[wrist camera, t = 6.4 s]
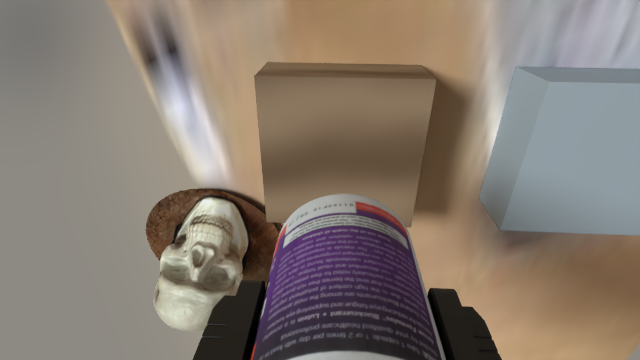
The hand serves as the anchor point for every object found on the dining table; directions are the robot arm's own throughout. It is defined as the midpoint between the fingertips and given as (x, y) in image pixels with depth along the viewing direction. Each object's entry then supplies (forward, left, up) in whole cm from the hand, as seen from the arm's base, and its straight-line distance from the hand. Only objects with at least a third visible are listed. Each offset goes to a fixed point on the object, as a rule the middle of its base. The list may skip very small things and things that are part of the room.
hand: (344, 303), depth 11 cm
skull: (+11, -11, -16) cm, 22 cm away
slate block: (0, +16, -15) cm, 22 cm away
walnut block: (0, 0, -15) cm, 15 cm away
